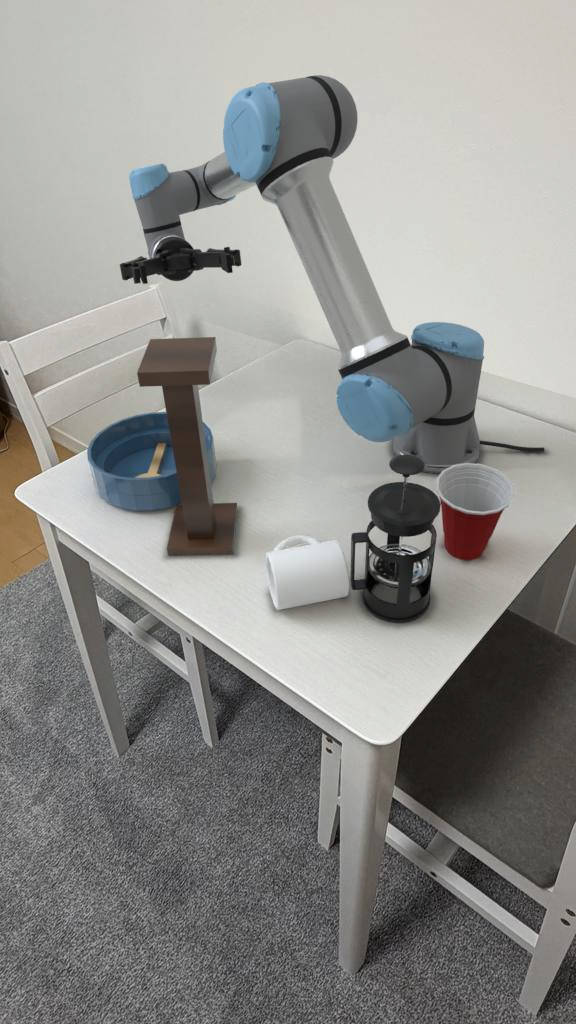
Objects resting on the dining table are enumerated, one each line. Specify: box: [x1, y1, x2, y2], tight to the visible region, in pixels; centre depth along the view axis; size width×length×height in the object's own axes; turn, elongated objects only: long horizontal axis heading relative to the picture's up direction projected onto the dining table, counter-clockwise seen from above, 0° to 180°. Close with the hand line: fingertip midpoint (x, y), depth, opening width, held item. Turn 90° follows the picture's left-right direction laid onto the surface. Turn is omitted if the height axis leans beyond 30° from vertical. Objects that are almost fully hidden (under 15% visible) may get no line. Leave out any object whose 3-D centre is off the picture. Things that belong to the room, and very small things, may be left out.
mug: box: [265, 534, 350, 611], centre depth 96 cm, size 12×10×8 cm
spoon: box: [135, 443, 167, 478], centre depth 120 cm, size 16×6×2 cm, turn 178°
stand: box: [136, 336, 239, 557], centre depth 99 cm, size 11×10×30 cm
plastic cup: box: [435, 463, 516, 561], centre depth 99 cm, size 11×11×12 cm
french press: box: [349, 455, 441, 624], centre depth 88 cm, size 12×9×23 cm
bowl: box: [86, 411, 218, 512], centre depth 119 cm, size 21×21×7 cm
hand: (187, 269), depth 108 cm, fingers open, 13 cm apart
